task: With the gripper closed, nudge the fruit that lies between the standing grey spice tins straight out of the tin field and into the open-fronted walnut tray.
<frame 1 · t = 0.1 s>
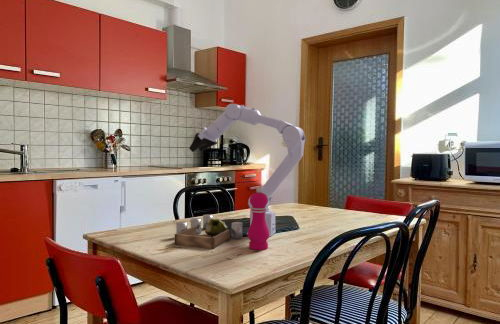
hand: (195, 149, 155), 32 cm above the table, tool tilted 50°, fingers open, 7 cm apart
fruit: (215, 235, 142), on the table, touching tray
tin right near: (195, 233, 147), on the table
tin left: (237, 237, 140), on the table
tin right far: (181, 237, 140), on the table
tray: (203, 241, 135), on the table
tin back: (207, 228, 155), on the table
pepper mill: (258, 248, 127), on the table
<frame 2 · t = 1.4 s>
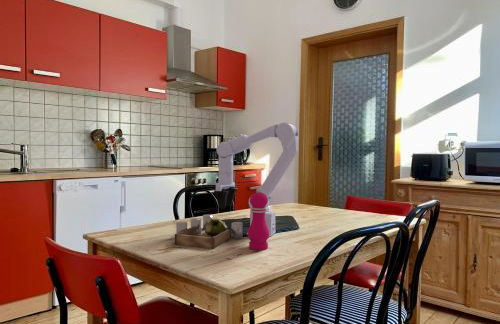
hand: (225, 207, 151), 9 cm above the table, tool pointing down, fingers open, 6 cm apart
nothing on the table moved.
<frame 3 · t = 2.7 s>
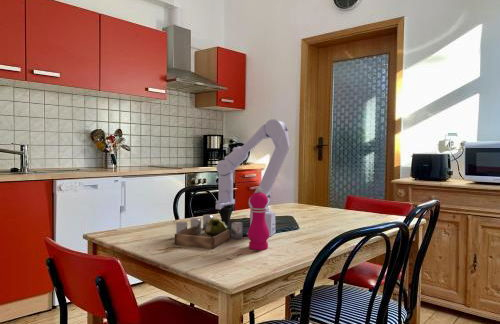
hand: (225, 224, 151), 2 cm above the table, tool pointing down, fingers closed
nothing on the table moved.
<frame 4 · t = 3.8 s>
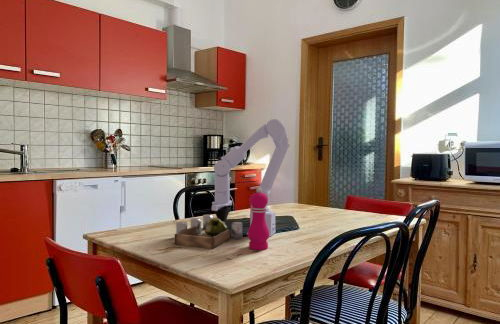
hand: (222, 226, 148), 2 cm above the table, tool pointing down, fingers closed
fruit: (215, 235, 142), on the table, touching gripper, tray
everything else where it was.
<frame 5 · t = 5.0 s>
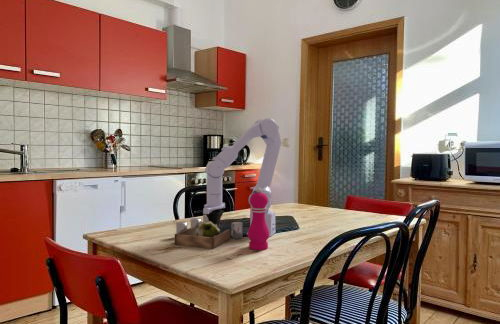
hand: (214, 230, 142), 2 cm above the table, tool pointing down, fingers closed
fruit: (207, 239, 136), resting on tray, touching gripper
everything else where it was.
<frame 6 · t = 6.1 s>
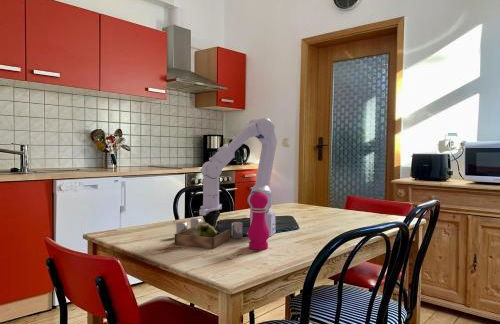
hand: (211, 231, 139), 2 cm above the table, tool pointing down, fingers closed
fruit: (204, 241, 133), resting on tray, touching gripper
everything else where it was.
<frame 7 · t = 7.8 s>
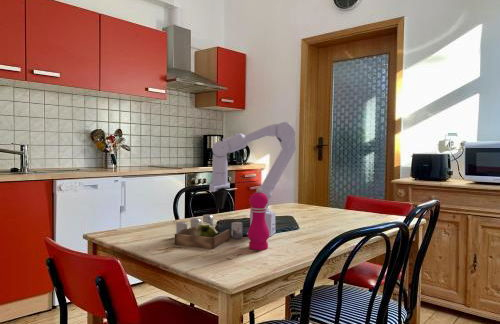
hand: (220, 208, 146), 10 cm above the table, tool pointing down, fingers closed
fruit: (205, 241, 133), resting on tray
everything else where it was.
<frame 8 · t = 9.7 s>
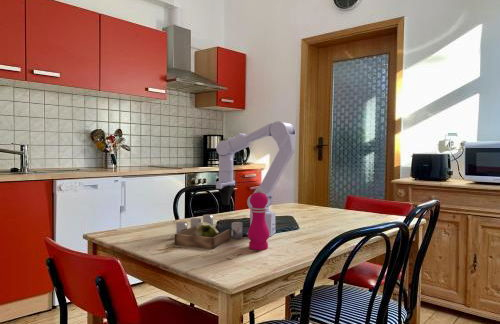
hand: (225, 204, 154), 10 cm above the table, tool pointing down, fingers closed
nothing on the table moved.
at the end: fruit inside the target area on the tray (1.5 cm from its centre), point 0.3 cm above the tray's base; fruit moved 9.6 cm from its start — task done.
